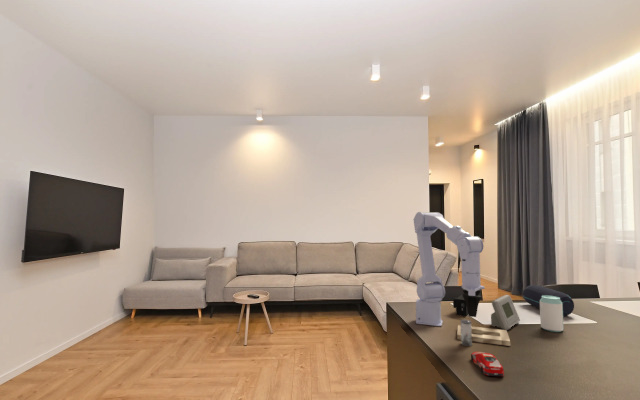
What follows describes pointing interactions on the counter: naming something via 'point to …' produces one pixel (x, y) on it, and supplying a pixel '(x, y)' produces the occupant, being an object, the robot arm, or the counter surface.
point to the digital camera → (460, 306)
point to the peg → (466, 332)
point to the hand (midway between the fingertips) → (472, 313)
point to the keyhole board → (488, 335)
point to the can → (551, 313)
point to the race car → (487, 364)
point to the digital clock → (504, 313)
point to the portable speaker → (535, 292)
